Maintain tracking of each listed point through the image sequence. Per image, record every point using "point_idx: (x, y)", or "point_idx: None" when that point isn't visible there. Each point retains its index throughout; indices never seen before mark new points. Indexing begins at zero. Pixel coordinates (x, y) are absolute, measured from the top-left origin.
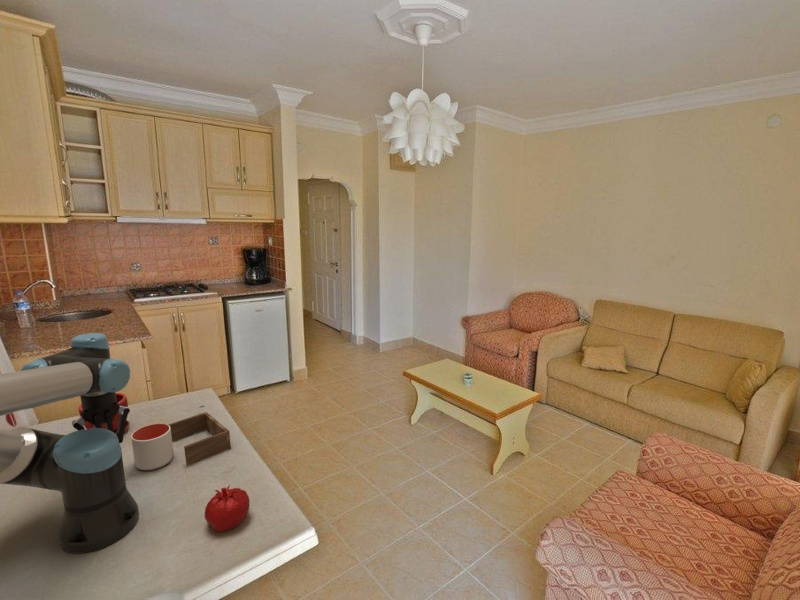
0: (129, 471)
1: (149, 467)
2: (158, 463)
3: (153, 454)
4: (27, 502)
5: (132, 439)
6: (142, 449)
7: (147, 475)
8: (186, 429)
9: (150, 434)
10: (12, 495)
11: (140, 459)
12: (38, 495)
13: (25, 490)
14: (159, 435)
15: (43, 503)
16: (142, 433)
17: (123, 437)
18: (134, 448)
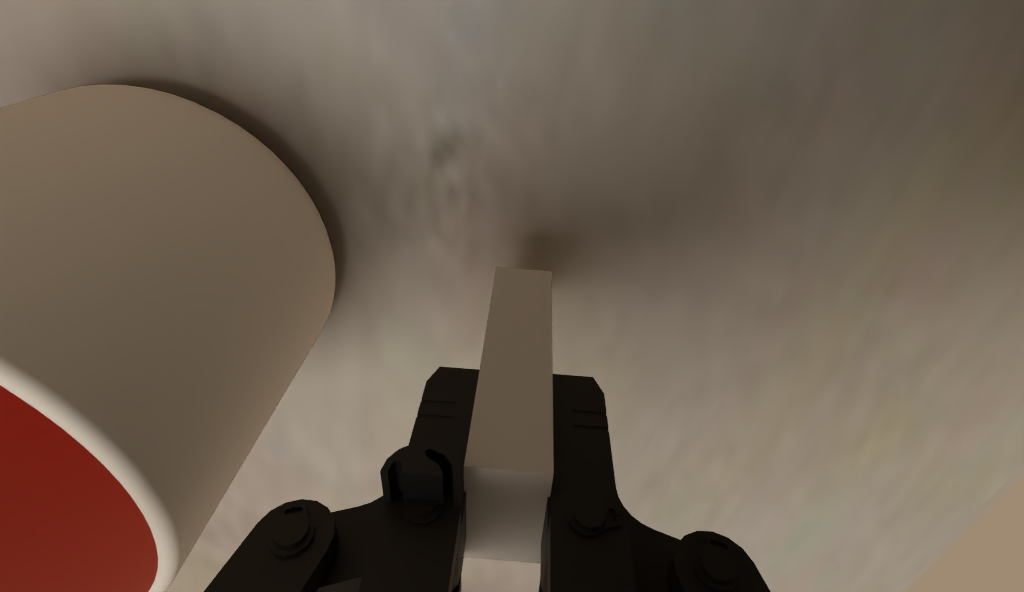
0: (394, 253)
1: (216, 121)
2: (108, 90)
3: (41, 139)
4: (991, 388)
5: (150, 486)
6: (101, 251)
7: (268, 61)
8: None
9: (78, 497)
10: (967, 500)
11: (239, 218)
12: (909, 412)
13: (905, 498)
14: (11, 443)
15: (963, 306)
16: (119, 543)
17: (209, 585)
18: (219, 358)
